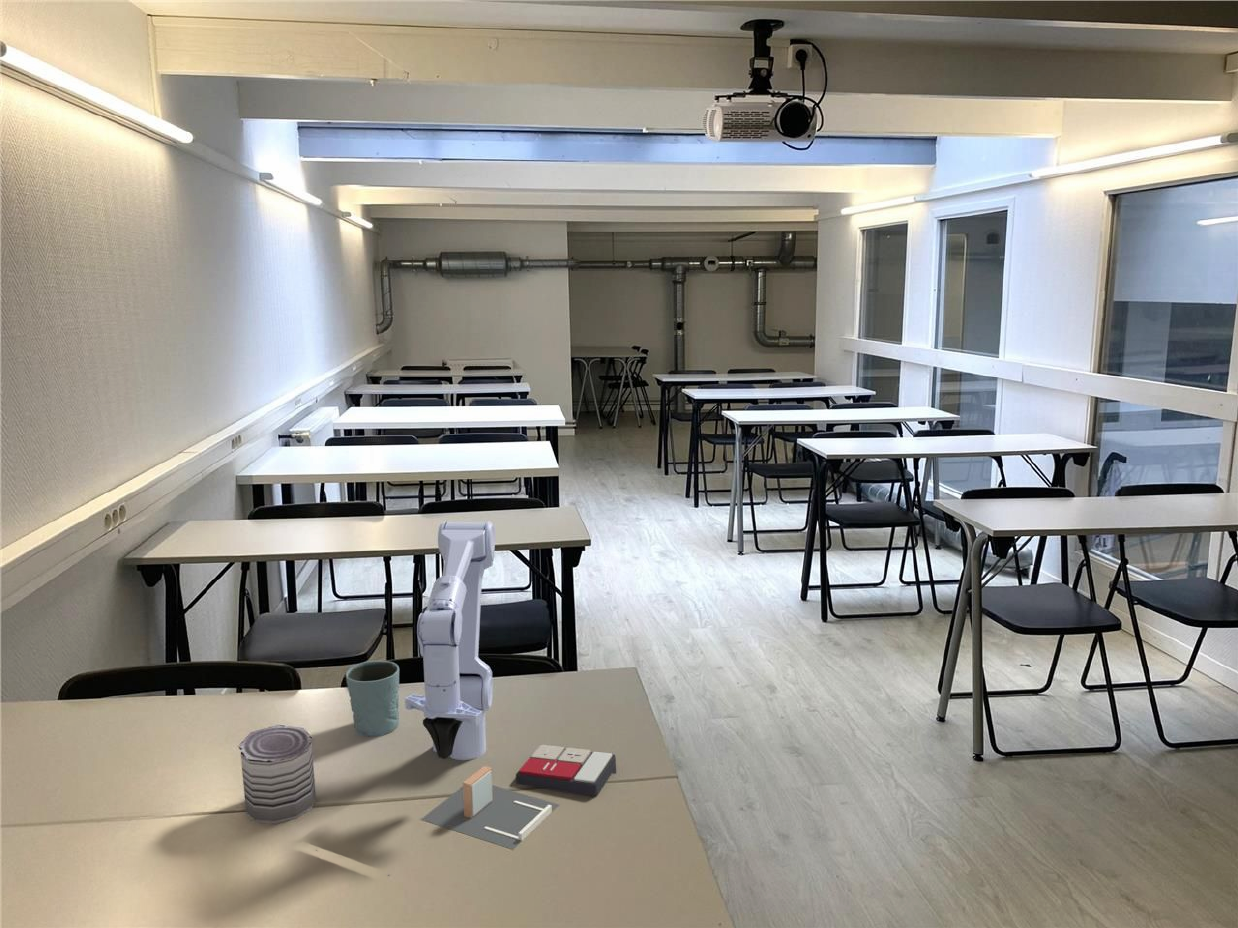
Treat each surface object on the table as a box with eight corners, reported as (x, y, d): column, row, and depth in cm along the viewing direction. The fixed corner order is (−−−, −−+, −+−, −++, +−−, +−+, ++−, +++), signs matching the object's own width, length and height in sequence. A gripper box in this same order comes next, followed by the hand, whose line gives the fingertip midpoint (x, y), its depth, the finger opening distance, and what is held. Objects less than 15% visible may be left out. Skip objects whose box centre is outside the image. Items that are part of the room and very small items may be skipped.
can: (298, 779, 166) (293, 717, 164) (328, 804, 158) (324, 739, 156) (234, 805, 158) (228, 739, 156) (263, 832, 150) (257, 764, 148)
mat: (420, 824, 152) (420, 812, 152) (472, 784, 164) (471, 772, 164) (513, 855, 144) (512, 842, 144) (559, 809, 156) (559, 797, 156)
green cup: (412, 723, 187) (409, 667, 185) (374, 743, 179) (371, 685, 176) (377, 710, 193) (373, 656, 190) (338, 730, 184) (334, 673, 182)
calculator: (539, 741, 173) (616, 750, 168) (541, 763, 173) (617, 772, 169) (514, 770, 162) (595, 780, 158) (516, 793, 163) (596, 804, 158)
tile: (464, 815, 153) (462, 782, 152) (485, 798, 158) (484, 765, 157) (472, 818, 152) (471, 784, 151) (493, 800, 157) (492, 767, 156)
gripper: (391, 680, 154) (395, 756, 156) (463, 697, 147) (466, 776, 150) (419, 665, 160) (422, 738, 162) (488, 681, 153) (491, 757, 156)
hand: (445, 755), depth 156 cm, fingers closed
